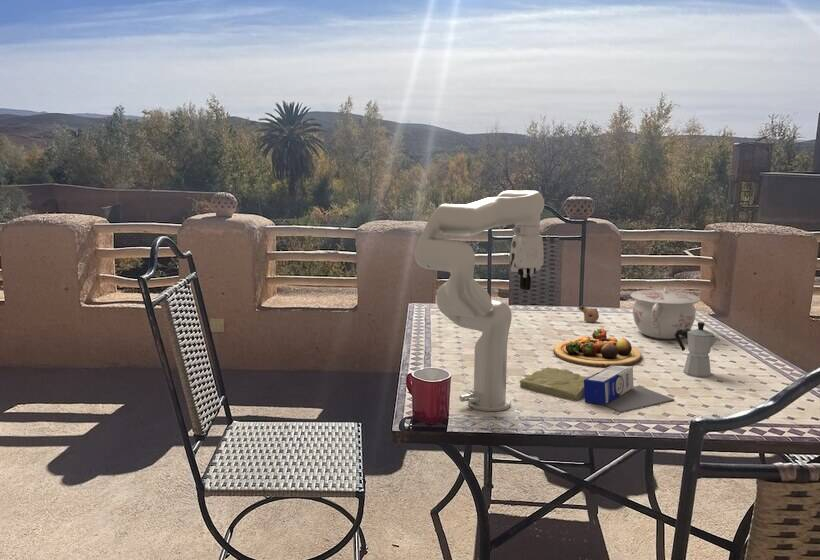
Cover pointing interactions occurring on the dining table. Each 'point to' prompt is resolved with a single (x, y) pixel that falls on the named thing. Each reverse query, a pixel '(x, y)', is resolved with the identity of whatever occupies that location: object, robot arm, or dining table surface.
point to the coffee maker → (697, 350)
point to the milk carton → (608, 384)
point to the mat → (637, 399)
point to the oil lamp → (589, 314)
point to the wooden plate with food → (598, 351)
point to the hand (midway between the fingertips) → (525, 289)
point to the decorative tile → (556, 383)
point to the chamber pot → (663, 312)
